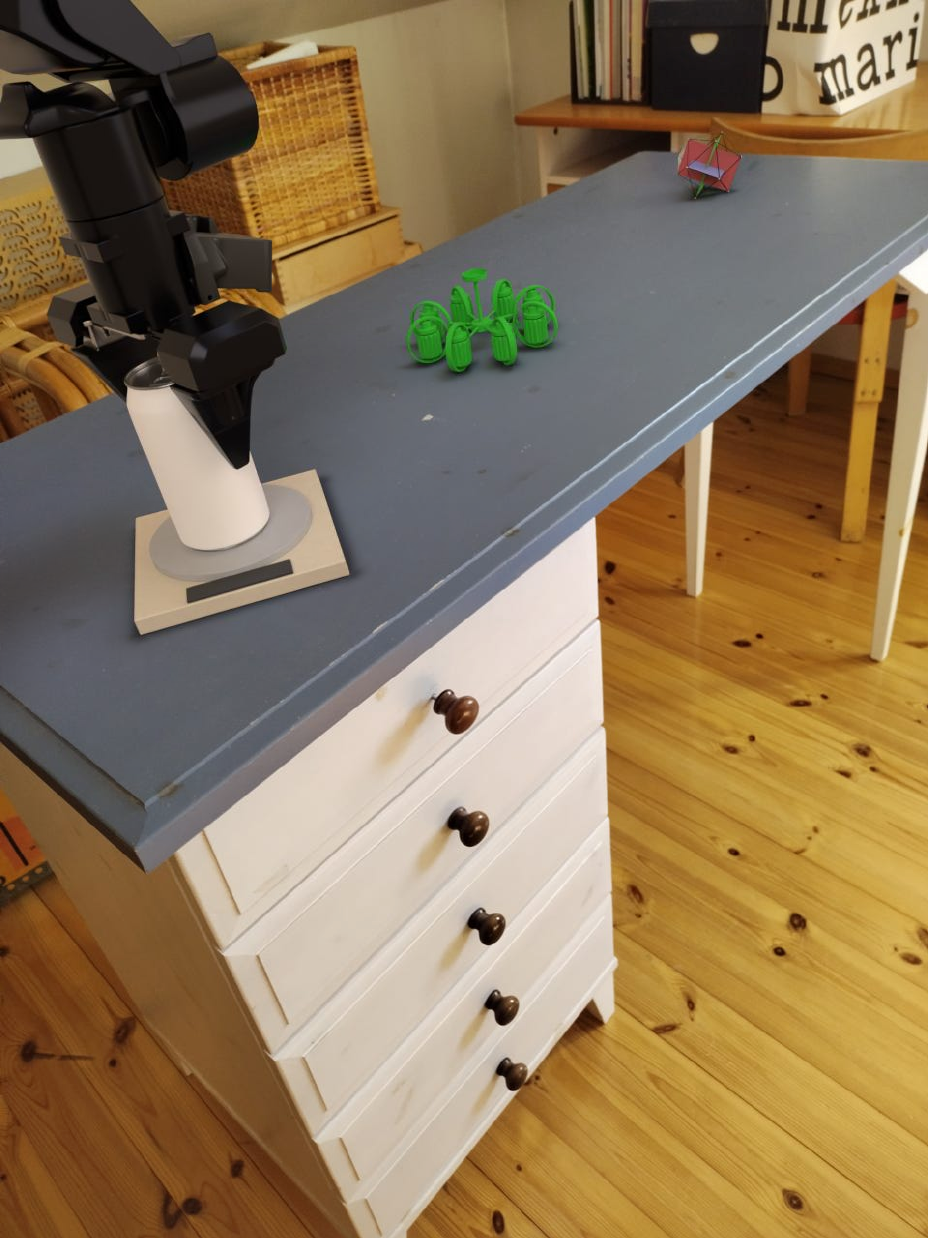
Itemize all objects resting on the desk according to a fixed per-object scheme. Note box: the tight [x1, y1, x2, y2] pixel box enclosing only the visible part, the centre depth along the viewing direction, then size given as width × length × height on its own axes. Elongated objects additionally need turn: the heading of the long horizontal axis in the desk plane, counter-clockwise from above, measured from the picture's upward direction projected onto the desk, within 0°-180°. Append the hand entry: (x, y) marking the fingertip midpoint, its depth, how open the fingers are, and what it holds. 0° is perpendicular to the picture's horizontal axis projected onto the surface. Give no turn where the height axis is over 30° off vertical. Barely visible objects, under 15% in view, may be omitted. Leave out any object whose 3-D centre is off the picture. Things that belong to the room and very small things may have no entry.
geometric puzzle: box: [676, 131, 743, 200], centre depth 116 cm, size 7×7×8 cm
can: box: [124, 355, 269, 552], centre depth 63 cm, size 6×6×12 cm
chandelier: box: [405, 267, 559, 373], centre depth 88 cm, size 15×15×7 cm
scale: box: [133, 468, 350, 635], centre depth 67 cm, size 14×14×2 cm
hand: (203, 449), depth 63 cm, fingers open, 9 cm apart
